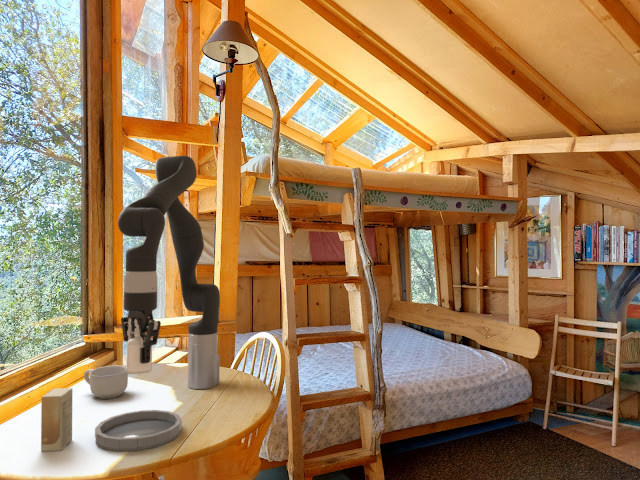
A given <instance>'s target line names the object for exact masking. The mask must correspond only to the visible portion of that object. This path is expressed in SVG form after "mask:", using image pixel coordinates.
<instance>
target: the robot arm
mask: <svg viewBox="0 0 640 480" xmlns="http://www.w3.org/2000/svg"><path fill="white" fill-rule="evenodd" d="M154 169H155V170H154V171H155V176H156V181H157V183H155V184H153V185H152V186H151V187H149V188H148V190H146V192H145V193H144V194H143V196H142V197H141V198H139V199H137V200H135V201H133V202H132V203H130V204H128V205H126V206H125V207H124V208H123V209H122V210H121V212H120V214H119V215H118V219H117V227H118V229H119V231H120V232H121V233H122V234H123V235H124V236H126V237H131V238H132V237H133V238H134V237H138V238H140V237H141V238H142V237H143V238H144V237H145V240H144V242H143V243H142V244H139V245H135V246H131V247H129V248H127V250H126V251H125V252H126V253H125V274H124V281H123V310H125V311H127V312H128V314H127V316H125V317H121V319H120V323H121V327H122V328H121V331H122V334H123V335H122V336H123V341H124V342H128V341H129V340H130V339H132V338H135V336H134V334H135V328H136V330H137V337H138V338H139V339H140V346H141V348H140V363H142V364H145V363H149V362H150V350H151V346H152V347H153V346H155V345H157V344H158V339H159V335H160V329H161V320H155V319H154V315H153V311H154V310H157V309H158V276H157V259H158V252H159V251H158V250H159V248H160V247H159V246H160V242H161V240H162V236H163V233H164V230H165V226H166V218H165V215H167V219H168V225H169V229H170V235H171V241H172V245H173V248H174V253H175V257H176V261H177V264H178V267H177V268H178V272H179V277H180V286H181V287H180V288H181V295H182V302H183V304H184V307H185V309H186V310H187V311H189V312H195V313H196V312H197V313H202V317H201V318H200V319H199V320H198V321H195V322H192V323H190V324H189V325H188V330H187V331H188V334H187V335H188V336H187V337H188V341H187V343H188V348H187V351H188V353H187V354H188V355H187V356H188V357H187V358H188V359H187V360H188V361H187V362H188V363H187V387H188V388H189V389H194V390H205V389H211V388H213V387H214V388H215V387H216V386H217V385H219V384H220V359H221V358H220V354H218V326H219V322H220V320H219V319H220V318H219V317H220V306H221V305H220V304H221V303H220V302H221V295H220V294H221V293H220V290H219V287H218V286H217V285H216V284H215V283H214V284H213V283H198V280H197V274H196V269H197V266H198V263H199V260H200V258H201V257H202V254H203V251H204V247H205V246H204V245H205V242H204V236H203V233H202V228H201V224H200V223H199V222H198V220H197V219H196V218H195V216H194V215H193V214H192V213H191V212H190V211H189V210H188V209H187V208H186V207H185V205H184V204H183V203H182V202H181V200H180V198H179V197H180V196H181V195H182V194H183V193H184V192H186V191H187V190H188V189H189V188H190V187H192V186H193V185H194V183H195V181H196V180H197V167H196V164H195V161H194V159H193V158H192V157H190V156H188V155H176V156H166V157H165V156H164V157H160V158H157V160H155V167H154ZM142 333H145V334H142ZM144 337H146V339H145V341H144Z"/></svg>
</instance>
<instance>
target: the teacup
mask: <svg viewBox="0 0 640 480" xmlns="http://www.w3.org/2000/svg"><path fill="white" fill-rule="evenodd" d="M83 373H84V374H83V377H84V381H86V383H87V384H88V385H89V387H90V391H91V393H92V395H93V396H95V397H96V398H98V399H103V400H107V399H114V398H116V397H117V398H118V397H119V396H121V395H122V394H123V393H124V392H125V391H126V390H127V388H128V384H129V383H128V382H129V381H128V378H129V374H128V373H127V365H126V366H125V365H106V366H101V367H97V368H94V369H93V368H90V369H86V370H85V371H84V372H83Z"/></svg>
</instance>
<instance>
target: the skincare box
mask: <svg viewBox="0 0 640 480" xmlns="http://www.w3.org/2000/svg"><path fill="white" fill-rule="evenodd" d="M40 405H41V407H40V408H41V409H40V411H41V414H40V415H41V417H40V419H41V420H40V421H41V422H40V423H41V424H40V425H41V427H40V429H41V431H40V433H41V435H40V436H41V437H40V439H41V441H40V446H41V447H40V451H41V452H55V451H56V452H60V451H62V450H63V449H64V448H65V447H66V446H68V445H69V443H70V442H71V441H72V440H73V388H71V387H69V388H68V387H67V388H64V387H63V388H60V387H59V388H52V389H50V390H49V391H48V392H47V393H45V394H44V395H42V396H41V404H40Z"/></svg>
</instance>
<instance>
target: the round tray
mask: <svg viewBox="0 0 640 480" xmlns="http://www.w3.org/2000/svg"><path fill="white" fill-rule="evenodd" d="M182 424H183V423H182V417H180V415H179V414H177V413H174V412H171V411H169V410H160V409H148V410H137V411H130V412H124V413H121V414H117V415H114V416H110V417H109V418H107V419H105V420H102V421H100V422H99V424H98V425H96V427H95V429H94V438H95V445H96V447H98V448H100V449H102V450H105V451H106V452H107V451H109V452H115V453H116V452H117V453H131V452H132V453H133V452H141V451H147V450H152V449H155V448H158V447H162V446H164V445H167V444H169V443H171V442H173V441H175V440H176V439H177V438H178V437H180V435H181V429H182Z"/></svg>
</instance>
